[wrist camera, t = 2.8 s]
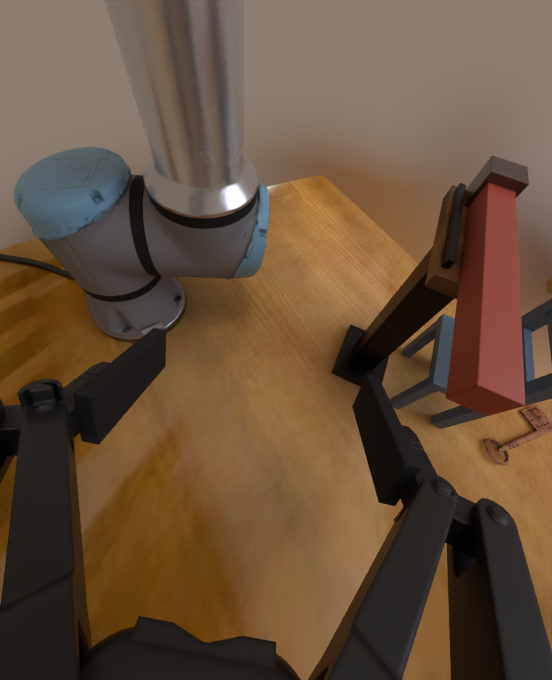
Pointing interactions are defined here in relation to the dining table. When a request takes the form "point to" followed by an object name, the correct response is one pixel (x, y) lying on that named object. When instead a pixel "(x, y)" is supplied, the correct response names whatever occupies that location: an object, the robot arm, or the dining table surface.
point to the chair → (440, 363)
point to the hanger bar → (489, 296)
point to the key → (539, 431)
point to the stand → (410, 298)
